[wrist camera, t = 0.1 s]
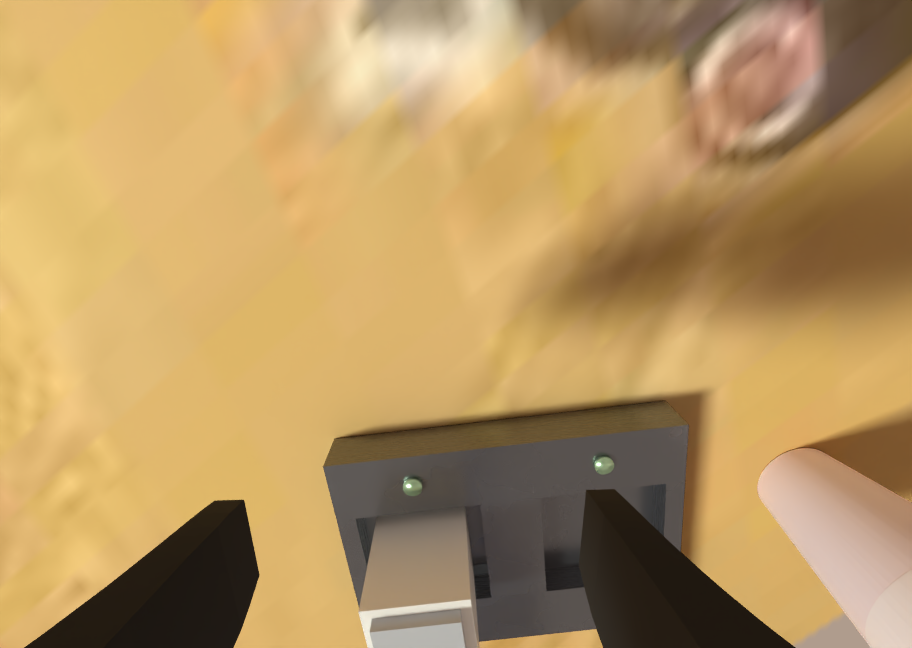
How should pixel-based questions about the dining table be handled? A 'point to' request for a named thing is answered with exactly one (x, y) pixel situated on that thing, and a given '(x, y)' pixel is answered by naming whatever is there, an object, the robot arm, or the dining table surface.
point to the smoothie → (847, 539)
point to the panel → (516, 499)
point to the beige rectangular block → (420, 582)
